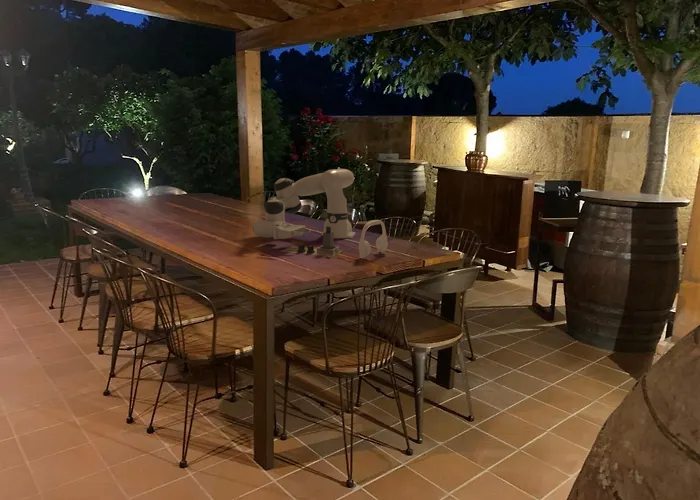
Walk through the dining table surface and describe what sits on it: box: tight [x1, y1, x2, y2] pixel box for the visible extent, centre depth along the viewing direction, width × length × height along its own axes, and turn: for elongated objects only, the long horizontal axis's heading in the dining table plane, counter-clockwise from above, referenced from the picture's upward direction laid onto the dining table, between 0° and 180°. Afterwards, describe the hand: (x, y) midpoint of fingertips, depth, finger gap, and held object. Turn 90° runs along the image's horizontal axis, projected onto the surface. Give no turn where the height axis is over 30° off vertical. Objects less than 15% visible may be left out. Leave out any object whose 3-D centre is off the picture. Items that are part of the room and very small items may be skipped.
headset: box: [358, 219, 389, 259], centre depth 273 cm, size 20×7×18 cm, turn 143°
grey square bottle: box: [322, 226, 335, 249], centre depth 274 cm, size 4×4×13 cm
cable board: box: [281, 244, 344, 259], centre depth 279 cm, size 16×27×5 cm, turn 69°
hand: (306, 232), depth 278 cm, fingers open, 8 cm apart
